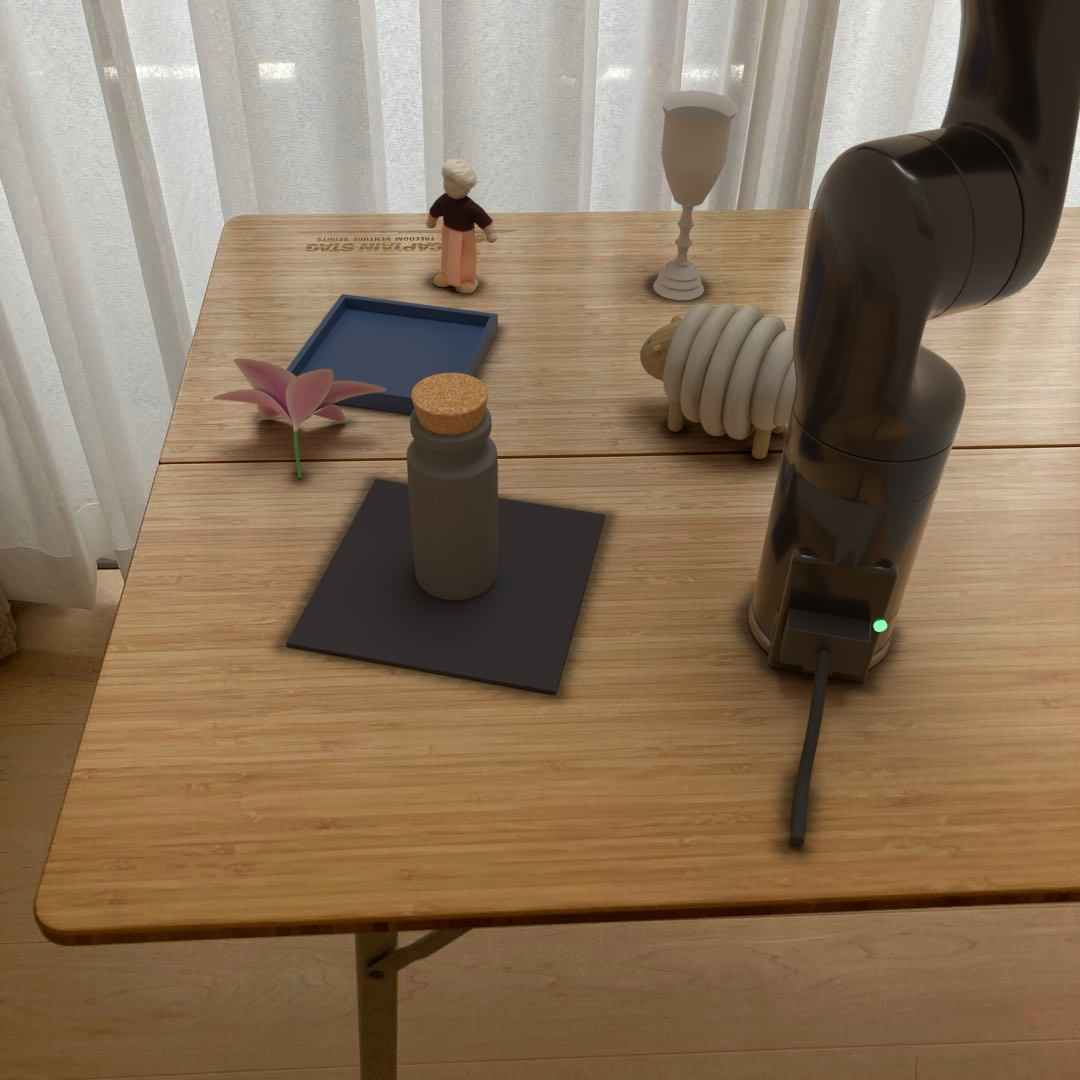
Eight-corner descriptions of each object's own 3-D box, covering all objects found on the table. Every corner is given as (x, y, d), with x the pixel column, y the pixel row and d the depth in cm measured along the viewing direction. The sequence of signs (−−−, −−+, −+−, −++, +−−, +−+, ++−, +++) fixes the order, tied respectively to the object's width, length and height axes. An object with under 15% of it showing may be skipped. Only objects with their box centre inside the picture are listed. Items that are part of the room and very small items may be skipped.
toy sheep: (656, 376, 98) (669, 261, 91) (846, 426, 93) (875, 307, 86) (611, 439, 91) (620, 319, 83) (814, 497, 86) (843, 374, 78)
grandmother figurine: (417, 288, 109) (410, 162, 101) (431, 270, 112) (426, 146, 104) (491, 300, 108) (490, 174, 99) (504, 282, 111) (504, 158, 102)
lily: (410, 459, 90) (394, 339, 88) (323, 486, 80) (303, 351, 78) (291, 464, 95) (274, 351, 93) (195, 490, 85) (174, 364, 83)
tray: (453, 420, 92) (453, 403, 91) (281, 395, 95) (279, 378, 93) (498, 329, 104) (497, 313, 102) (343, 309, 106) (341, 293, 105)
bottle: (503, 548, 80) (503, 370, 70) (492, 605, 75) (490, 423, 66) (423, 542, 80) (411, 363, 70) (407, 597, 76) (392, 415, 66)
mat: (555, 694, 70) (556, 691, 70) (286, 646, 73) (285, 643, 72) (604, 517, 83) (605, 514, 83) (375, 481, 86) (375, 478, 86)
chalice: (630, 277, 112) (645, 95, 100) (689, 265, 114) (710, 86, 102) (667, 311, 107) (687, 124, 95) (727, 297, 109) (754, 113, 97)
